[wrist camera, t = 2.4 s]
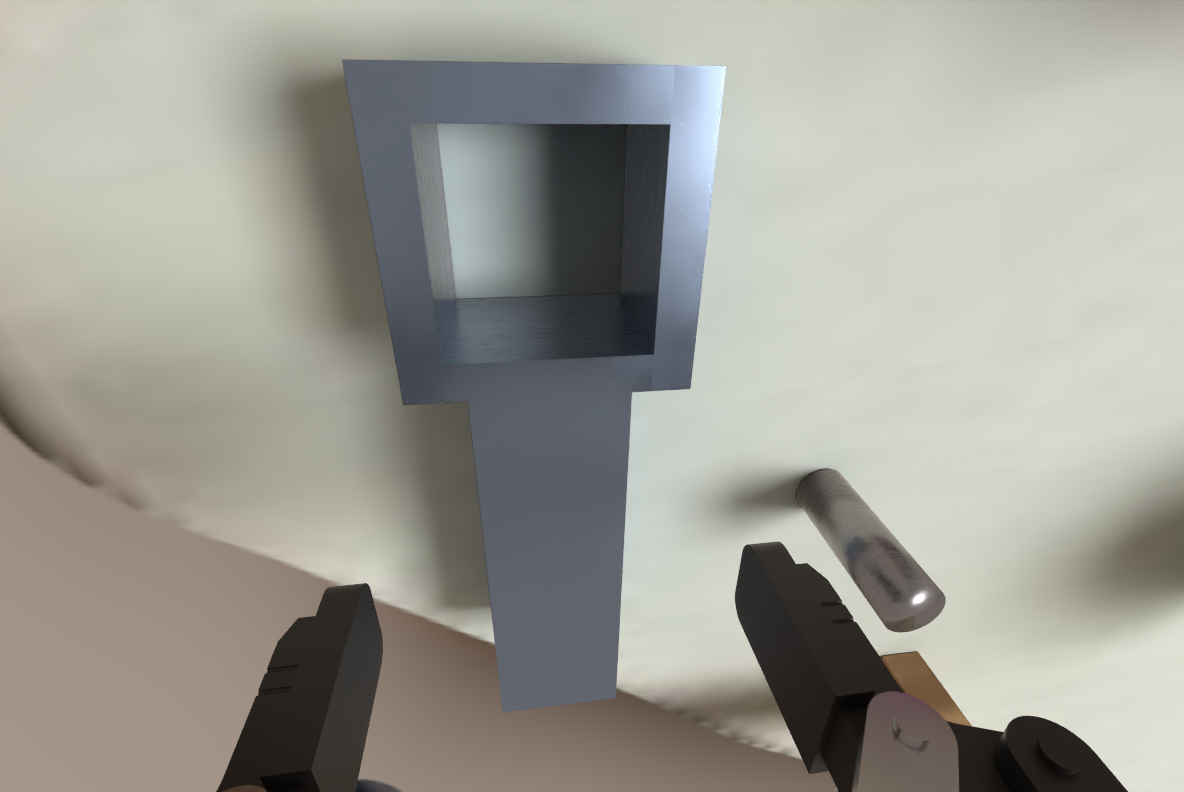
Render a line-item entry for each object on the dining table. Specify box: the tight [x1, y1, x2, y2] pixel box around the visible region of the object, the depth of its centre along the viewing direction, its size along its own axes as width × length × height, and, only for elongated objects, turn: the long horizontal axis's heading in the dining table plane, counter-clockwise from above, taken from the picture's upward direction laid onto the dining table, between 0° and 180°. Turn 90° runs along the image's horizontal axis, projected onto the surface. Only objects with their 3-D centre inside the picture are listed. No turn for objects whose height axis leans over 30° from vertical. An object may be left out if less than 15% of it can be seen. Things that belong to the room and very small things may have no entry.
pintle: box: [796, 469, 945, 632], centre depth 20 cm, size 2×2×6 cm
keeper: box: [881, 652, 971, 726], centre depth 26 cm, size 4×13×8 cm, turn 89°
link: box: [342, 60, 726, 712], centre depth 17 cm, size 20×7×4 cm, turn 179°
